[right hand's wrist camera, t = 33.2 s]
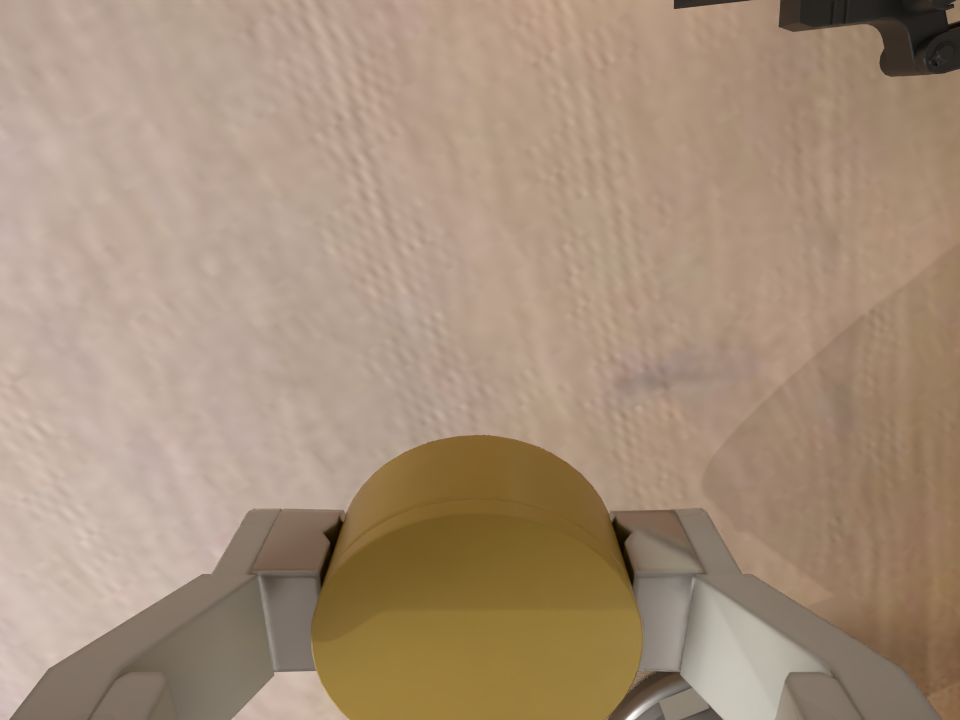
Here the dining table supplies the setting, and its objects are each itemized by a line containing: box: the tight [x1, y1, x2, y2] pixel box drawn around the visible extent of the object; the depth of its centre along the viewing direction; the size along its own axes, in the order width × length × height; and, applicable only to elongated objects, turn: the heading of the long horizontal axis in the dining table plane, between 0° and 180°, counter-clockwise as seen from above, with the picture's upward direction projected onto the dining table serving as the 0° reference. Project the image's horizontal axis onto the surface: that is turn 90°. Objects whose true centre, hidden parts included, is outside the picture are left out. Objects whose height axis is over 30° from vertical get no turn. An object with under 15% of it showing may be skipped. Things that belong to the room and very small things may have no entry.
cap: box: [311, 435, 643, 720], centre depth 9 cm, size 4×4×2 cm
